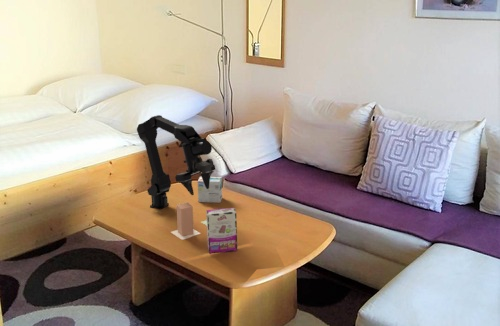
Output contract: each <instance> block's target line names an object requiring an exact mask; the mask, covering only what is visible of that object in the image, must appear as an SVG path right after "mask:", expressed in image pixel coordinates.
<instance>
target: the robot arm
mask: <svg viewBox="0 0 500 326" xmlns="http://www.w3.org/2000/svg"><path fill="white" fill-rule="evenodd" d="M158 129H161V130H164V131H165V132H167V133H170V134H171V135H173V136H174V139H176V140H177V141H179V142H180V144H179V145H178V148H180V149H181V148H182V150H183V152H182V153H183V155H184V158H185V159H184V160H183V163H184V164H185V165H186V167H187V168H186V170H185V171H186V172H180V173H178V174H176V175H175V182H178V183H179V184H181V185H183V187H184V188H185V189H186V190H187V192H189V194H190V195H191V196H194V189H193V184H192V182H193V178H192V177H193V176H195V175H199V174H200V176H201V177H202V179H203V182H204V184H205V187H206V189H209V183H210V177H212V174H213V173H214V172H215V170H216V165H215V164H214V161H213V159H212V158H208V159H206V160H203V158H202V156H205V155H209V154H211V152H212V149H213V148H212V147H213V146H212V144H211V143H210V142H209V140H207V138H206V137H201V135H199V133H198V132H197V131H196V129H195V127H193V126H191V125H187V124H179V123H176V122H175V121H172V120H170V119H168V118H165V117H163V116H162V115H160V114H157V115H154V116H151V117H150V118H149V119H147V120H145V121H144V122H142V123H139V124H138V126H137V127H136V131H137V134H138V135H137V136H138V137H139V139H140V140H141V142H143V143H144V146H145V150H146V154H147V158H148V162H149V166H150V169H151V173H152V175H151V178H150V187H149V188H148V189H147V194H148V196H150V197H151V198H150V199H151V204H150V205H149V207H150V208H153V209H159V210H163V209H164V208H166V207H167V206H168V205H169V204H170V203H169V201H168V196H167V193H169V192H170V190H171V189H170V188H171V187H172V184H171V183H172V181H171V178H170V174H169V173H166V172H165V171H164V168H163V165H162V160H161V157H160V153H159V148H158V145H157V137H158Z"/></svg>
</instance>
